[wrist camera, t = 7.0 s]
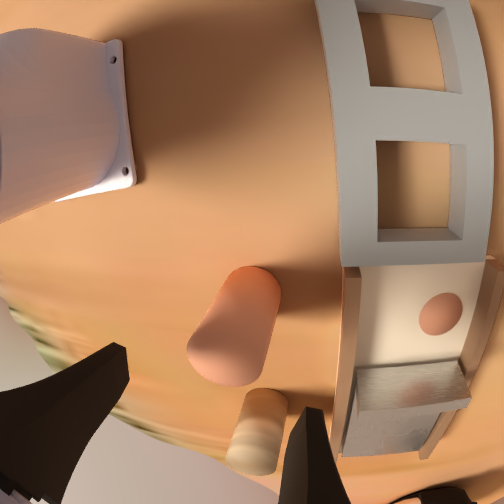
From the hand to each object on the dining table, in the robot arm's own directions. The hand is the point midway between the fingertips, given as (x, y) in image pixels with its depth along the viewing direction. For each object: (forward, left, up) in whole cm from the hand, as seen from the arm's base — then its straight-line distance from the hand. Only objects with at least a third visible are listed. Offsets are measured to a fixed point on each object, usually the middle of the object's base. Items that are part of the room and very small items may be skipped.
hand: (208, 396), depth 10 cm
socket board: (-10, +9, -8) cm, 15 cm away
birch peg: (+10, 0, -8) cm, 13 cm away
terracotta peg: (0, 0, -8) cm, 8 cm away
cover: (+10, +10, -7) cm, 16 cm away
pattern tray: (+7, +10, -8) cm, 15 cm away
